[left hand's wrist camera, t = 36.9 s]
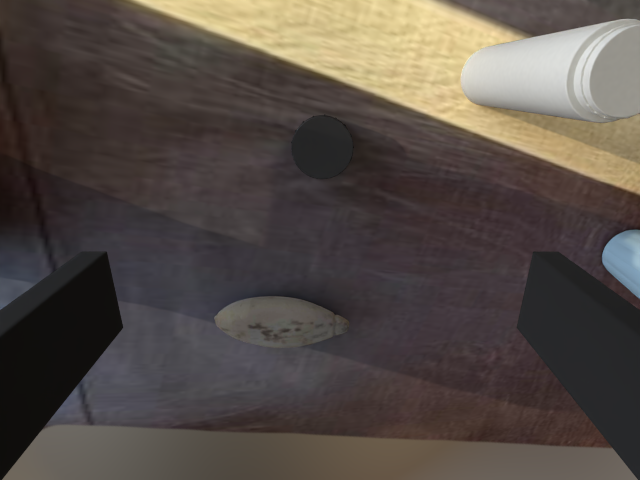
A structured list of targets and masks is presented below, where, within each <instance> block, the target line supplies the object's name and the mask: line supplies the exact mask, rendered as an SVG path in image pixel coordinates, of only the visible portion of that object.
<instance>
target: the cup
mask: <svg viewBox="0 0 640 480" xmlns="http://www.w3.org/2000/svg"><path fill="white" fill-rule="evenodd" d="M602 262H603V265H604V266H605V268H606V269H607V270H608V271H609V272H610V273H611V274H612V275H613V276H614V277H615V278H616V279H618V280H619V281H620V282H621V283H622V284H623V285H624V286H625V287H627V288H628V289H629V290H630V291H631V292H632V293H633V294H635V295H636V296H637V297H638V298H639V299H640V230H627V231H624V232H622V233H620V234H618V235H616V236H615V237H613V238H612V239H611V240H610V241H609V242H608V243H607V245H606V247H605V248H604V251H603V254H602Z"/></svg>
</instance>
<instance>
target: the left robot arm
mask: <svg viewBox="0 0 640 480" xmlns="http://www.w3.org/2000/svg"><path fill="white" fill-rule="evenodd" d="M122 328H123V324H122V320H121V315H120V311H119V306H118V301H117V297H116V292H115V288H114V283H113V278H112V274H111V269H110V265H109V260H108V255H107V252H81V253H79V254H78V255H77V256H75V257H74V258H72V259H71V260H70V261H68V262H67V263H65V264H64V265H63V266H61V267H60V268H58V269H57V270H56V271H54V272H53V273H51V274H50V275H49V276H47V277H46V278H44V279H43V280H42V281H40V282H39V283H38V284H36V285H35V286H33V287H32V288H31V289H29V290H28V291H26V292H25V293H24V294H22V295H21V296H19V297H18V298H17V299H15V300H14V301H12V302H11V303H10V304H8V305H7V306H5V307H4V308H3V309H1V310H0V480H2V479H3V478H4V476H5V475H6V474H7V473H8V471H9V470H10V469H11V468H12V466H13V465H14V464H15V463H16V461H17V460H18V459H19V458H20V456H21V455H22V454H23V453H24V451H25V450H26V449H27V448H28V446H29V445H30V444H31V443H32V441H33V440H34V439H35V437H36V436H37V435H38V434H39V433H40V431H41V430H42V429H43V427H44V426H45V425H46V424H47V422H48V421H49V420H50V419H51V417H52V416H53V415H54V414H55V412H56V411H57V410H58V409H59V407H60V406H61V405H62V404H63V402H64V401H65V400H66V399H67V397H68V396H69V395H70V394H71V392H72V391H73V390H74V389H75V387H76V386H77V385H78V384H79V382H80V381H81V380H82V379H83V377H84V376H85V375H86V374H87V372H88V371H89V370H90V369H91V367H92V366H93V365H94V364H95V362H96V361H97V360H98V359H99V357H100V356H101V355H102V354H103V352H104V351H105V350H106V349H107V347H108V346H109V345H110V343H111V342H112V341H113V340H114V338H115V337H116V336H117V335H118V333H119V332H120V331H121V330H122ZM517 328H518V330H519V331H520V332H521V333H522V335H523V336H524V337H525V338H526V340H527V341H528V342H529V343H530V345H531V346H532V347H533V349H534V350H535V351H536V352H537V354H538V355H539V356H540V357H541V359H542V360H543V361H544V362H545V364H546V365H547V366H548V367H549V369H550V370H551V371H552V372H553V374H554V375H555V376H556V377H557V379H558V380H559V381H560V382H561V384H562V385H563V386H564V387H565V389H566V390H567V391H568V392H569V394H570V395H571V396H572V397H573V399H574V400H575V401H576V402H577V404H578V405H579V406H580V407H581V409H582V410H583V411H584V412H585V414H586V415H587V416H588V417H589V419H590V420H591V421H592V422H593V424H594V425H595V426H596V427H597V429H598V430H599V431H600V433H601V434H602V435H603V436H604V438H605V439H606V440H607V441H608V443H609V444H610V445H611V446H612V448H613V449H614V450H615V451H616V453H617V454H618V455H619V456H620V458H621V459H622V460H623V461H624V463H625V464H626V465H627V466H628V468H629V469H630V470H631V471H632V473H633V474H634V475H635V476H636V478H637V479H638V480H640V310H639V309H637V308H636V307H635V306H633V305H632V304H630V303H629V302H628V301H626V300H625V299H623V298H622V297H621V296H619V295H618V294H616V293H615V292H614V291H612V290H611V289H609V288H608V287H607V286H605V285H604V284H602V283H601V282H600V281H598V280H597V279H595V278H594V277H593V276H591V275H590V274H589V273H587V272H586V271H584V270H583V269H582V268H580V267H579V266H577V265H576V264H575V263H573V262H572V261H570V260H569V259H568V258H566V257H565V256H563V255H562V254H561V253H559V252H533V255H532V260H531V265H530V269H529V274H528V278H527V283H526V288H525V292H524V297H523V301H522V306H521V311H520V315H519V320H518V324H517Z"/></svg>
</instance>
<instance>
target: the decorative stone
mask: <svg viewBox="0 0 640 480" xmlns="http://www.w3.org/2000/svg"><path fill="white" fill-rule="evenodd" d="M214 319H215V323H216V325H217V326H218V327H219V328H220V329H221V330H222V331H223V332H225V333H226V334H228V335H229V336H231V337H233V338H235V339H238V340H241V341H244V342H247V343H252V344H256V345H260V346H265V347H274V348H290V347H299V346H304V345H310V344H313V343H316V342H319V341H323V340H326V339H329V338H331V337H333V335H340V334H343V333H345V332H347V330H348V328H349V321H348V320H347V319H345V318H343V317H341V316H339V315H335V314H334V313H333V312H331V311H329V310H327V309H325V308H323V307H321V306H318V305H316V304H314V303H311V302H308V301H305V300H301V299H297V298H291V297H282V296H264V297H253V298H247V299H243V300H240V301H236V302H234V303H231V304H230V305H228V306H226V307H225V308H223V309H222V310H221V311H220V312H219V313H218V314H217V315H216V316H215V317H214Z"/></svg>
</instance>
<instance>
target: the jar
mask: <svg viewBox="0 0 640 480" xmlns="http://www.w3.org/2000/svg"><path fill="white" fill-rule="evenodd" d="M461 87H462V90H463V92H464V94H465V96H466V97H467V98H468V99H469V100H470V101H471V102H473V103H475V104H478V105H483V106H490V107H497V108H503V109H510V110H517V111H523V112H530V113H537V114H543V115H550V116H556V117H563V118H570V119H576V120H583V121H590V122H597V123H606V122H612V121H616V120H619V119H624V118H629V117H632V116H634V115H637V114H640V21H639V20H635V19H621V20H616V21H611V22H606V23H601V24H596V25H591V26H586V27H581V28H576V29H572V30H567V31H562V32H557V33H552V34H547V35H542V36H537V37H532V38H527V39H523V40H518V41H513V42H508V43H503V44H498V45H493V46H488V47H484V48H482V49H480V50H478V51H476V52H475V53H474V54H472V55H471V56H470V58H469V59H468V60H467V62H466V63H465V65H464V67H463V70H462V74H461Z"/></svg>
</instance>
